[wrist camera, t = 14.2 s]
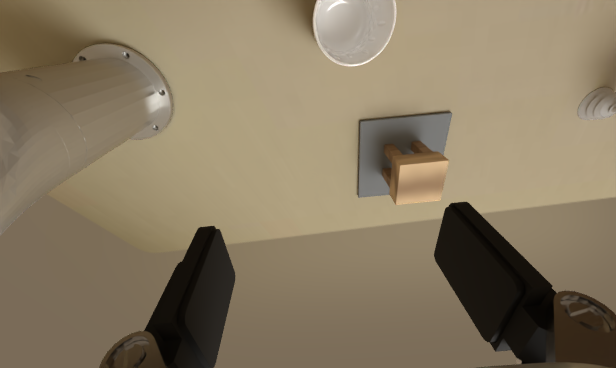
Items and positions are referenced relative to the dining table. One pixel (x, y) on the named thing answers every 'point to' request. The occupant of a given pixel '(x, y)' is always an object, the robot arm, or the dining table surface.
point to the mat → (401, 135)
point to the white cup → (353, 29)
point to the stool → (415, 174)
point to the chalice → (598, 104)
